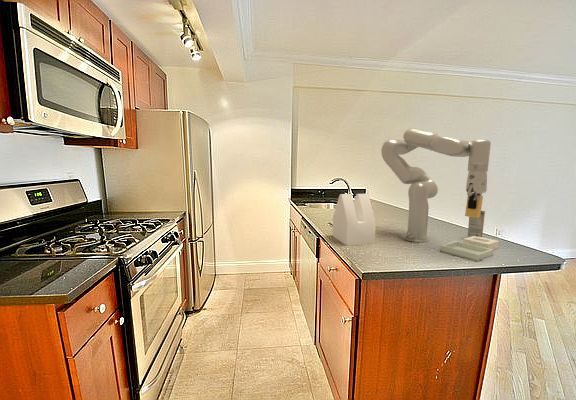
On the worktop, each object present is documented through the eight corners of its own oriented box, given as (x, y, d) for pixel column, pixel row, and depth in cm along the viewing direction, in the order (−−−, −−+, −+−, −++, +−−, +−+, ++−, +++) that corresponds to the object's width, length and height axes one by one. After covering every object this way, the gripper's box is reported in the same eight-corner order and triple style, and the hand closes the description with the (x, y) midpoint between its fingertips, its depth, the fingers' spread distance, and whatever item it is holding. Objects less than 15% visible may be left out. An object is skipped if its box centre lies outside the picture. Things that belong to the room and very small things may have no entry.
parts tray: (477, 261, 115) (478, 255, 115) (440, 251, 129) (440, 245, 128) (492, 256, 122) (493, 249, 122) (455, 246, 136) (456, 241, 136)
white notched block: (332, 236, 156) (333, 192, 152) (357, 234, 159) (358, 192, 156) (346, 245, 137) (348, 196, 134) (374, 244, 140) (376, 196, 137)
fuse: (477, 218, 123) (480, 196, 121) (464, 215, 127) (467, 194, 125) (479, 217, 124) (483, 195, 123) (467, 215, 128) (470, 194, 127)
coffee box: (468, 237, 153) (470, 209, 150) (482, 239, 149) (485, 210, 147) (466, 241, 145) (469, 211, 143) (481, 243, 142) (484, 213, 139)
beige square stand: (487, 252, 127) (488, 244, 127) (462, 246, 137) (463, 238, 136) (498, 248, 133) (499, 240, 132) (473, 243, 142) (474, 235, 142)
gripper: (479, 168, 115) (474, 211, 117) (494, 168, 124) (490, 207, 126) (460, 167, 121) (456, 208, 123) (476, 167, 130) (472, 205, 133)
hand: (473, 207), depth 125 cm, fingers closed on fuse, 3 cm apart
